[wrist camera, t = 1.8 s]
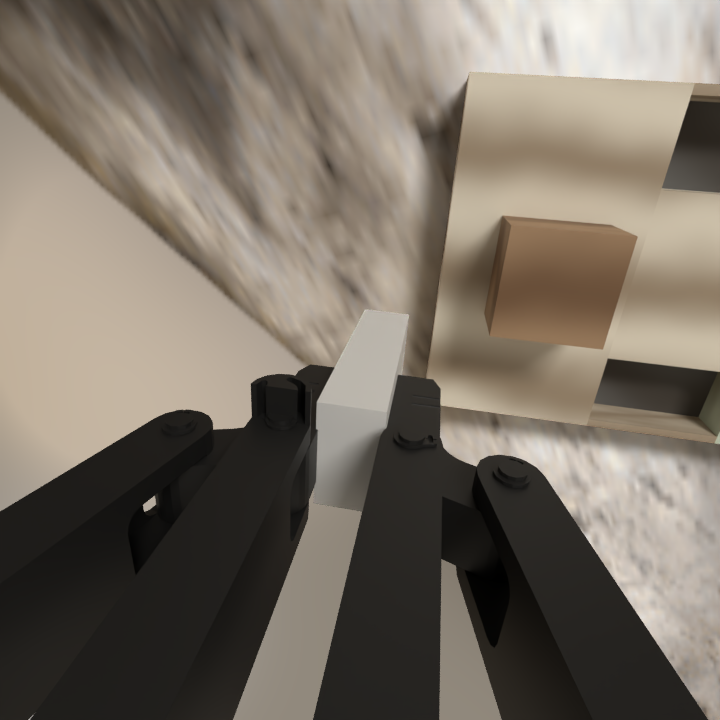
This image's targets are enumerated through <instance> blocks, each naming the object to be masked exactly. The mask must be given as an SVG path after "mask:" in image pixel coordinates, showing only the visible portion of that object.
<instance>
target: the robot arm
mask: <svg viewBox="0 0 720 720" xmlns="http://www.w3.org/2000/svg"><path fill="white" fill-rule="evenodd" d="M408 320H409V314H402V313H393V312H384V311H376V310H367V309H365V310H364V312H363V314H362V316H361V318H360V320H359V322H358V324H357V326H356V328H355V330H354V332H353V333H352V335H351V337H350V339H349V341H348V343H347V345H346V347H345V349H344V351H343V353H342V355H341V357H340V358H339V360H338V362H337V364H336V366H335V368H333V367H325V366H318V365H309V366H307V367H305V368H303V369H302V370H300V371H298V373H297V374H296V376H294V375H287V374H286V375H285V374H275V375H267V376H264V377H261V378H259V379H257V380H255V381H254V382H253V383H251V402H252V418H251V419H250V421H249V422H248V423H247V425H246V426H245V427H244V428H237V429H219V430H213V422H212V420H211V418H210V417H209V416H208V415H206V414H204V413H202V412H198V411H193V410H177V411H174V412H169V413H165V414H163V415H161V416H159V417H157V418H155V419H153V420H151V421H150V422H148V423H146V424H145V425H143V426H141V427H140V428H138V429H137V430H135V431H133V432H131V433H130V434H128V435H126V436H125V437H124V438H121V439H120V440H118V441H116V442H115V443H113V444H112V445H110V446H108V447H106V448H105V449H103V450H102V451H100V452H98V453H97V454H95V455H93V456H92V457H90V458H88V459H87V460H85V461H83V462H82V463H80V464H78V465H77V466H75V467H73V468H72V469H70V470H68V471H67V472H65V473H63V474H62V475H60V476H58V477H57V478H55V479H53V480H52V481H50V482H49V483H47V484H45V485H44V486H42V487H40V488H39V489H37V490H35V491H34V492H32V493H30V494H29V495H27V496H25V497H24V498H22V499H20V500H19V501H17V502H15V503H14V504H12V505H10V506H9V507H7V508H5V509H4V510H2V511H0V720H28V719H29V718H30V717H31V716H32V715H33V714H34V713H35V714H34V715H33V717H32V718H31V719H30V720H233V718H234V715H235V713H236V709H237V707H238V704H239V701H240V699H241V696H242V694H243V691H244V688H245V686H246V683H247V680H248V678H249V675H250V672H251V669H252V667H253V664H254V662H255V659H256V656H257V653H258V651H259V648H260V646H261V643H262V640H263V638H264V635H265V632H266V630H267V627H268V624H269V621H270V619H271V616H272V614H273V611H274V608H275V606H276V603H277V600H278V597H279V595H280V592H281V589H282V587H283V584H284V581H285V579H286V576H287V573H288V571H289V568H290V565H291V563H292V560H293V557H294V555H295V552H296V549H297V546H298V544H299V541H300V539H301V536H302V533H303V531H304V528H305V525H306V522H307V520H308V510H309V498H310V496H311V493H312V491H313V488H314V503H316V504H321V505H327V506H333V507H339V508H345V509H351V510H357V511H362V515H361V520H360V524H359V528H358V532H357V537H356V541H355V545H354V549H353V553H352V558H351V562H350V566H349V570H348V574H347V579H346V583H345V587H344V591H343V596H342V600H341V604H340V608H339V613H338V617H337V621H336V625H335V629H334V634H333V638H332V642H331V646H330V650H329V655H328V659H327V663H326V667H325V672H324V676H323V680H322V685H321V688H320V693H319V697H318V701H317V706H316V710H315V714H314V718H313V720H439V692H440V691H439V689H440V615H441V607H440V606H441V559H443V560H445V561H447V562H449V563H452V564H454V565H456V570H457V577H458V580H459V583H460V587H461V590H462V593H463V596H464V599H465V603H466V606H467V609H468V612H469V615H470V618H471V622H472V625H473V628H474V632H475V634H476V638H477V641H478V644H479V648H480V651H481V654H482V657H483V660H484V664H485V667H486V670H487V673H488V676H489V680H490V683H491V686H492V689H493V693H494V696H495V699H496V702H497V705H498V709H499V712H500V715H501V718H502V720H708V719H707V717H706V716H705V714H704V713H703V711H702V710H701V708H700V707H699V705H698V704H697V702H696V701H695V700H694V698H693V697H692V695H691V694H690V692H689V691H688V689H687V688H686V686H685V685H684V683H683V682H682V680H681V679H680V677H679V676H678V674H677V673H676V671H675V670H674V668H673V667H672V665H671V664H670V662H669V661H668V659H667V658H666V656H665V655H664V653H663V652H662V650H661V649H660V647H659V646H658V644H657V643H656V641H655V640H654V638H653V637H652V635H651V634H650V632H649V631H648V629H647V628H646V626H645V625H644V623H643V622H642V620H641V619H640V618H639V616H638V615H637V613H636V612H635V610H634V609H633V607H632V606H631V604H630V603H629V601H628V600H627V598H626V597H625V595H624V594H623V592H622V591H621V589H620V588H619V586H618V585H617V583H616V582H615V580H614V579H613V577H612V576H611V574H610V573H609V571H608V570H607V568H606V567H605V565H604V564H603V562H602V561H601V559H600V558H599V556H598V555H597V553H596V552H595V550H594V549H593V547H592V546H591V544H590V543H589V541H588V540H587V538H586V537H585V535H584V534H583V533H582V531H581V530H580V528H579V527H578V525H577V524H576V522H575V521H574V519H573V518H572V516H571V515H570V513H569V512H568V510H567V509H566V507H565V506H564V504H563V503H562V501H561V500H560V498H559V497H558V495H557V494H556V492H555V491H554V489H553V488H552V486H551V485H550V483H549V482H548V480H547V479H546V477H545V476H544V475H543V474H542V473H541V472H540V471H539V470H538V469H537V468H536V467H535V466H533V465H531V464H530V463H528V462H526V461H524V460H522V459H519V458H516V457H513V456H505V455H494V456H488V457H486V458H484V459H482V460H480V462H479V464H478V465H477V467H476V466H473V465H470V464H468V463H465V462H463V461H461V460H458V459H456V458H455V457H453V456H452V455H450V454H449V453H448V452H447V451H446V450H445V449H444V448H443V444H442V441H441V438H440V399H441V389H440V387H439V386H438V385H437V383H436V382H435V381H434V380H433V379H426V378H419V377H411V376H403V375H402V372H403V364H404V355H405V346H406V338H407V329H408ZM153 496H155V498H156V505H155V506H154V507H153V508H151V509H150V510H148V511H146V512H144V510H143V504H144V503H146V502H147V501H148V500H149V499H151V498H152V497H153Z"/></svg>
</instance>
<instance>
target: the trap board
mask: <svg viewBox="0 0 720 720" xmlns="http://www.w3.org/2000/svg"><path fill="white" fill-rule="evenodd" d="M502 215H504V216H515V217H527V218H538V219H550V220H561V221H573V222H584V223H596V224H607V225H613V226H615V227H617V228H620V229H622V230H624V231H626V232H629V233H631V234H633V235H636V236H638V238H637V241H636V244H635V248H634V251H633V254H632V257H631V261H630V264H629V267H628V270H627V274H626V277H625V280H624V283H623V286H622V290H621V293H620V296H619V299H618V303H617V306H616V309H615V312H614V316H613V319H612V322H611V325H610V329H609V332H608V335H607V338H606V341H605V345H604V348H603V350H601V349H593V348H584V347H576V346H568V345H559V344H551V343H542V342H534V341H525V340H517V339H509V338H500V337H492V336H489V331H488V327H487V323H486V319H485V315H484V312H485V307H486V301H487V296H488V290H489V285H490V280H491V274H492V269H493V264H494V258H495V253H496V247H497V242H498V237H499V231H500V226H501V221H502ZM426 379H433V380H434V381H435V382H436V383H437V385H438V386H439V387H440V389H441V399H440V405H441V406H448V407H455V408H462V409H470V410H477V411H484V412H491V413H498V414H506V415H513V416H520V417H527V418H535V419H542V420H549V421H556V422H564V423H571V424H578V425H585V426H592V427H600V428H607V429H614V430H621V431H629V432H636V433H643V434H650V435H657V436H665V437H672V438H679V439H686V440H694V441H701V442H708V443H715V444H720V84H702V83H682V82H662V81H642V80H622V79H602V78H582V77H562V76H543V75H523V74H503V73H483V72H470V73H469V76H468V79H467V85H466V92H465V100H464V107H463V114H462V121H461V128H460V135H459V143H458V150H457V157H456V164H455V171H454V179H453V186H452V193H451V200H450V207H449V214H448V222H447V229H446V236H445V243H444V250H443V258H442V265H441V272H440V279H439V286H438V293H437V301H436V308H435V315H434V322H433V329H432V337H431V344H430V351H429V358H428V365H427V373H426Z"/></svg>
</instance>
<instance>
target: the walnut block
mask: <svg viewBox="0 0 720 720" xmlns="http://www.w3.org/2000/svg"><path fill="white" fill-rule="evenodd" d="M637 238H638V236H636V235H633V234H631V233H629V232H626V231H624V230H622V229H620V228H617V227H615V226H613V225H607V224H596V223H584V222H573V221H561V220H550V219H538V218H527V217H515V216H504V215H502V221H501V226H500V231H499V237H498V242H497V247H496V253H495V258H494V264H493V269H492V274H491V280H490V285H489V290H488V296H487V301H486V307H485V312H484V315H485V319H486V323H487V327H488V331H489V336H492V337H500V338H509V339H517V340H525V341H534V342H542V343H551V344H559V345H568V346H576V347H584V348H593V349H601V350H603V348H604V345H605V341H606V338H607V335H608V332H609V329H610V325H611V322H612V319H613V316H614V312H615V309H616V306H617V303H618V299H619V296H620V293H621V290H622V286H623V283H624V280H625V277H626V274H627V270H628V267H629V264H630V261H631V257H632V254H633V251H634V248H635V244H636V241H637Z"/></svg>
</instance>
